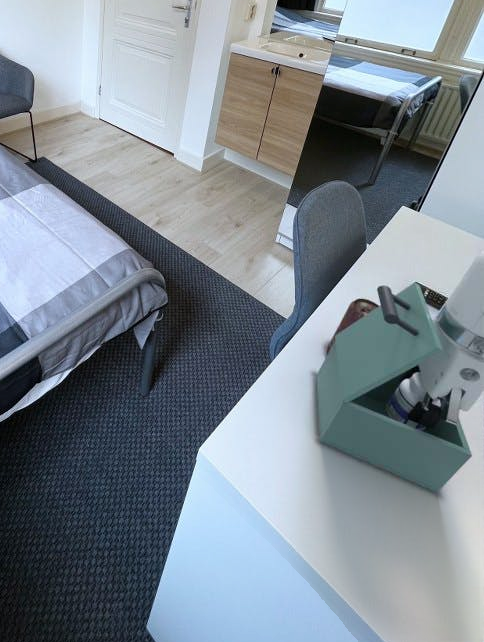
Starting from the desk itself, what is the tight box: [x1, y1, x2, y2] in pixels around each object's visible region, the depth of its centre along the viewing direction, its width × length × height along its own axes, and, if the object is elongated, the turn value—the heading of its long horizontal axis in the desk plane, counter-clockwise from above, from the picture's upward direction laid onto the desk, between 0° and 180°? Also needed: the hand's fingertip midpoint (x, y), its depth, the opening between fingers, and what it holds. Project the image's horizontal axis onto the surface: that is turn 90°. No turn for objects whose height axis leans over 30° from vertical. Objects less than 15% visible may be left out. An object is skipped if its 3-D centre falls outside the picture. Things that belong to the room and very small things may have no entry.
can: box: [326, 298, 380, 354], centre depth 81 cm, size 6×6×14 cm
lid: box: [335, 282, 443, 403], centre depth 65 cm, size 17×13×6 cm
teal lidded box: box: [315, 342, 473, 493], centre depth 70 cm, size 17×13×11 cm
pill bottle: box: [387, 372, 441, 431], centre depth 67 cm, size 5×5×9 cm
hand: (414, 403), depth 67 cm, fingers closed on pill bottle, 5 cm apart
